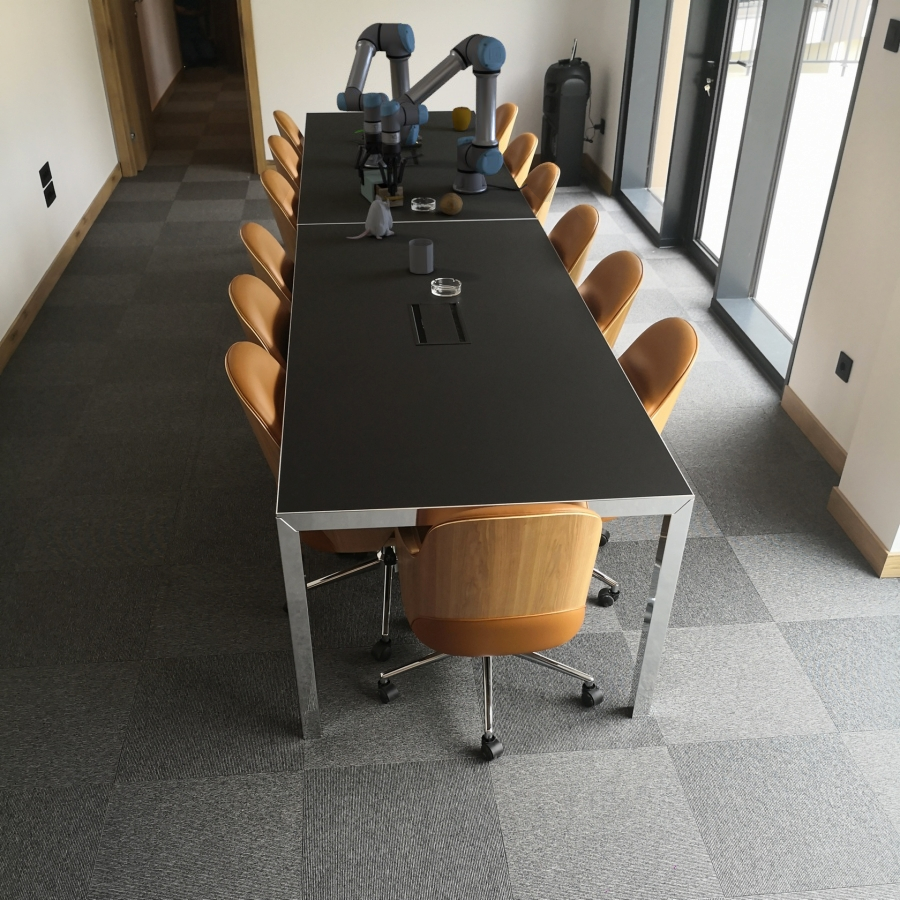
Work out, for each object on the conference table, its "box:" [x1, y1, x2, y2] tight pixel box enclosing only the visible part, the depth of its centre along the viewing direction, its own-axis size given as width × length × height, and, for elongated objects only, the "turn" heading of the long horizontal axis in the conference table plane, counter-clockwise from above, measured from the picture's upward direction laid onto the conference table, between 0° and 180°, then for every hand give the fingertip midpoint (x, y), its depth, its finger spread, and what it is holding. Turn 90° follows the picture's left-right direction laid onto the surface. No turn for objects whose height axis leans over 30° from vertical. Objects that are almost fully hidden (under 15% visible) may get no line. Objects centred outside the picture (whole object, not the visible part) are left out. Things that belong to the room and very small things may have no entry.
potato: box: [439, 192, 464, 216], centre depth 360 cm, size 10×14×8 cm
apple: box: [451, 105, 472, 132], centre depth 487 cm, size 11×11×13 cm
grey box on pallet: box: [360, 168, 393, 204], centre depth 379 cm, size 17×11×10 cm, turn 21°
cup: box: [408, 237, 434, 275], centre depth 305 cm, size 8×8×10 cm
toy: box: [345, 195, 395, 240], centre depth 331 cm, size 9×24×15 cm, turn 137°
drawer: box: [374, 182, 404, 208], centre depth 370 cm, size 21×10×8 cm, turn 21°
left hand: (375, 183), depth 383 cm, fingers closed on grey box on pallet, 11 cm apart
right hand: (392, 200), depth 364 cm, fingers closed
